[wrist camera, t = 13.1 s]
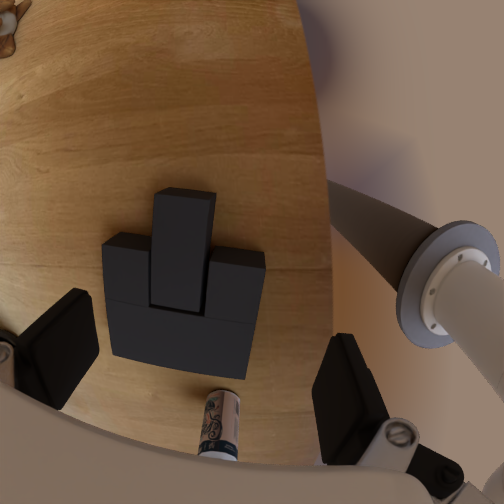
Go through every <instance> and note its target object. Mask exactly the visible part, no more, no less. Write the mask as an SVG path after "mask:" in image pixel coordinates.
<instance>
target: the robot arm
mask: <svg viewBox="0 0 504 504" xmlns="http://www.w3.org/2000/svg"><path fill="white" fill-rule="evenodd" d="M420 312H421V318H422V321H423V323H424V324H425V326H426V327H427V328H428V329H429V331H431V332H432V333H434V334H437V335H450V336H451V338H452V339H453V340H454V341H455V342H456V343H457V344H458V346H459V347H460V348H461V349H462V350H463V352H464V353H465V354H466V355H467V356H468V358H469V359H470V360H471V361H472V362H473V363H474V365H475V366H476V367H477V369H478V370H479V371H480V372H481V373H482V375H483V376H484V377H485V379H486V380H487V381H488V383H489V384H490V385H491V386H492V388H493V389H494V390H495V392H496V393H497V394H498V395H499V397H500V398H501V399H502V401H503V402H504V279H502V278H501V277H499V276H498V275H496V274H495V273H493V272H492V271H491V265H490V262H489V259H488V257H487V256H486V254H485V253H483V252H482V251H481V250H479V249H477V248H475V247H472V246H464V247H461V248H458V249H456V250H454V251H452V252H450V253H449V254H448V255H447V256H446V257H444V258H443V259H442V260H441V262H440V263H439V264H438V265H437V266H436V268H435V269H434V270H433V272H432V273H431V275H430V277H429V279H428V280H427V283H426V285H425V288H424V290H423V294H422V298H421V304H420ZM14 342H15V345H16V346H15V347H14V348H13V347H12V346H11V345H10V344H9V343H7V342H0V504H504V463H503V464H502V465H501V466H500V467H499V468H498V469H496V471H495V472H494V473H493V474H492V475H491V476H490V478H489V479H488V481H487V482H486V484H485V486H484V488H483V491H482V492H481V491H479V490H478V489H477V488H476V487H475V486H474V485H473V484H471V483H470V482H469V481H468V482H467V483H465V482H463V481H464V473H463V470H462V468H461V467H460V466H459V464H457V463H456V462H454V461H452V460H450V459H448V458H446V457H444V456H442V455H440V454H438V453H436V452H434V451H432V450H431V449H429V448H427V447H425V446H423V445H421V444H419V438H420V436H419V432H418V430H417V428H416V427H415V426H414V425H413V424H412V423H411V422H409V421H408V420H406V419H403V418H390V417H389V414H388V412H387V409H386V407H385V404H384V402H383V399H382V397H381V394H380V392H379V389H378V387H377V384H376V382H375V380H374V378H373V375H372V373H371V371H370V369H368V368H367V365H366V363H365V361H364V358H363V356H362V354H361V352H360V349H359V347H358V345H357V343H356V340H355V338H354V336H353V334H346V333H337V334H336V336H332V337H331V339H330V342H329V344H328V347H327V350H326V353H325V356H324V358H323V361H322V364H321V366H320V369H319V371H318V374H317V377H316V379H315V382H314V384H313V387H312V399H313V405H314V411H315V417H316V423H317V430H318V436H319V443H320V449H321V456H322V461H323V463H324V464H326V463H327V465H326V466H299V465H275V464H260V463H249V462H239V461H231V460H223V459H217V458H210V457H205V456H199V455H194V454H189V453H184V452H179V451H174V450H170V449H166V448H162V447H158V446H154V445H150V444H147V443H143V442H140V441H136V440H133V439H130V438H127V437H123V436H120V435H117V434H115V433H112V432H109V431H106V430H103V429H100V428H98V427H95V426H93V425H90V424H87V423H85V422H83V421H80V420H78V419H75V418H73V417H71V416H68V415H66V414H64V413H62V412H60V411H58V410H61V409H62V408H63V406H64V405H65V403H66V402H67V400H68V399H69V397H70V396H71V394H72V393H73V391H74V390H75V388H76V387H77V385H78V384H79V382H80V381H81V379H82V378H83V377H84V375H85V374H86V372H87V371H88V369H89V368H90V366H91V365H92V364H93V362H94V361H95V359H96V358H97V356H98V354H99V343H98V338H97V332H96V326H95V320H94V313H93V306H92V298H91V296H90V295H89V294H88V292H87V291H86V290H82V289H78V288H73V289H72V290H70V291H69V292H68V293H67V294H66V295H64V296H63V297H62V298H61V299H60V300H59V301H57V302H56V303H55V304H54V305H53V306H52V307H50V308H49V309H48V310H47V311H46V312H45V313H44V314H43V315H41V316H40V317H39V318H38V319H37V320H36V321H35V322H34V323H33V324H31V325H30V326H29V327H28V328H27V329H26V330H25V331H24V332H23V333H22V334H21V335H20V336H19V337H17V338H16V339H15V340H14Z"/></svg>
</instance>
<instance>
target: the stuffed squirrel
mask: <svg viewBox="0 0 504 504" xmlns="http://www.w3.org/2000/svg"><path fill="white" fill-rule="evenodd" d="M14 3H15V0H0V58H5V57H8V56H11V55H12V54H13V53H14V51H15V45H14V40H13V36H12V35H13V33H14V32H15V29H16V27H17V21H18V20H19V19H20V18H21V17H22V15H23V14H24V13H25V11H26V10H27V9H28V7H29V6H30V5H31V0H24V1H23V2H21V3H20V4H19V5H17V6H16V5H14Z"/></svg>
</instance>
